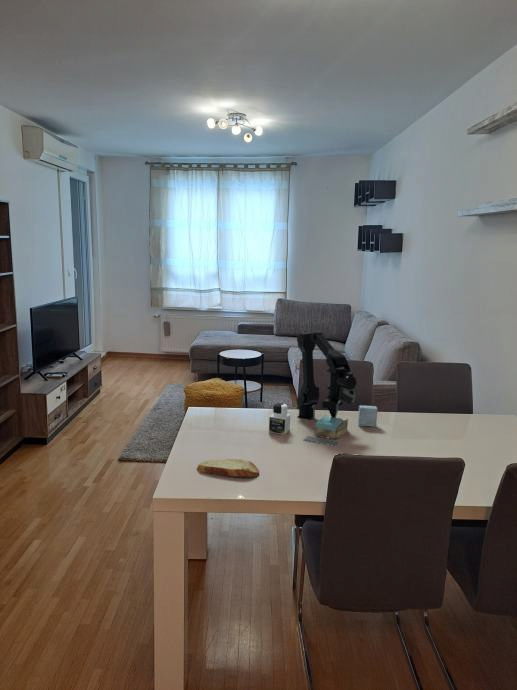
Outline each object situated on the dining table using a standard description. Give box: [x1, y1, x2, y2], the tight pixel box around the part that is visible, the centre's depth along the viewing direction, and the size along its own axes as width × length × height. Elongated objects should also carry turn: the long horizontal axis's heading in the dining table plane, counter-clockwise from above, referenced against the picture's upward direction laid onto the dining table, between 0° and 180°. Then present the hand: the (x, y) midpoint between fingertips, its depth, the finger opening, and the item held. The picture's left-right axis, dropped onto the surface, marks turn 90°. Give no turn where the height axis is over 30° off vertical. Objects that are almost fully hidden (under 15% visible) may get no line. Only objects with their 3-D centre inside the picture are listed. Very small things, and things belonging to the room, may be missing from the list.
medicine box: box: [357, 405, 378, 428], centre depth 236 cm, size 8×4×9 cm, turn 84°
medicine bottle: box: [268, 402, 291, 435], centre depth 224 cm, size 7×7×12 cm
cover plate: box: [315, 415, 344, 431], centre depth 221 cm, size 8×11×2 cm
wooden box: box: [314, 415, 349, 440], centre depth 225 cm, size 10×14×5 cm
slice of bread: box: [196, 458, 260, 479], centre depth 182 cm, size 18×18×4 cm
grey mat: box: [303, 435, 341, 447], centre depth 214 cm, size 14×5×1 cm, turn 65°
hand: (333, 419), depth 226 cm, fingers closed
